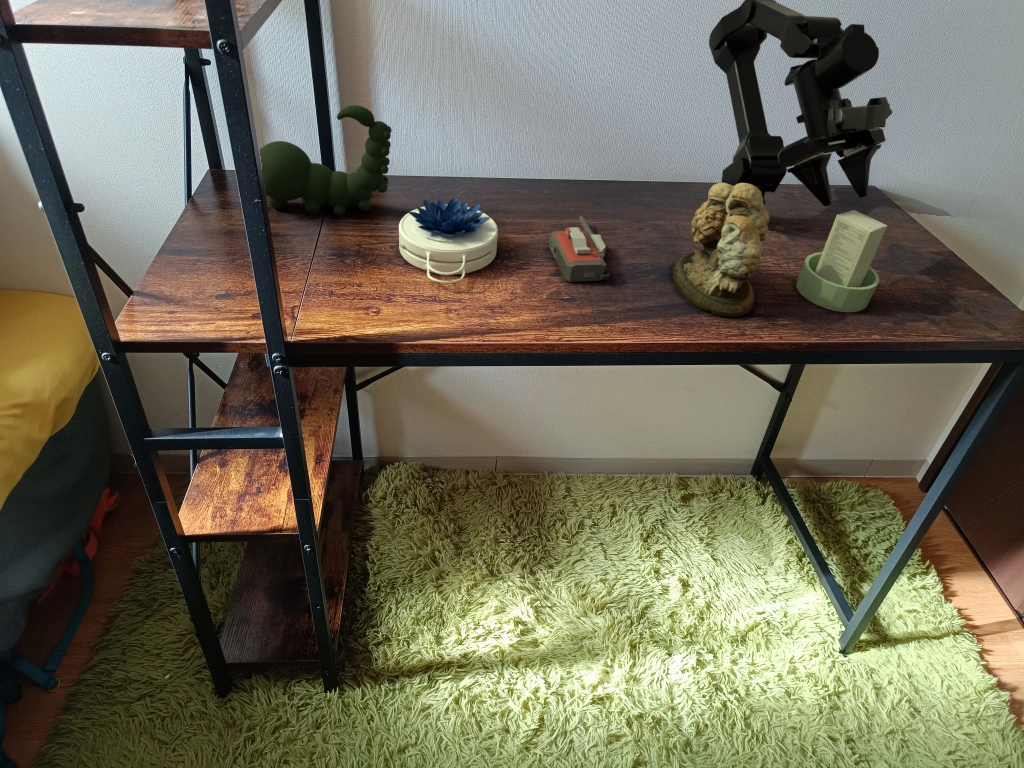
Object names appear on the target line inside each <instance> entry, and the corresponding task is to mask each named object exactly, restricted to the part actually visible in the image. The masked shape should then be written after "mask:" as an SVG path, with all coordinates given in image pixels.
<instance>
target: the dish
mask: <svg viewBox="0 0 1024 768" xmlns="http://www.w3.org/2000/svg"><path fill="white" fill-rule="evenodd" d="M822 253H823V251H820V252H814V253H812V254H809V255H808V256H807V257H806V258H805V259H804V260H803V261H804V262H803V264H802V267H801V269H800V271H799V274H798V277H797V279H796V283H795V285H796V289H797V291H798V292H799V294H800V295H801V296H802V297H803V298H804V299H806V300H807V301H809V302H810V303H812V304H814V305H816V306H819V307H821V308H824V309H826V310H830V311H834V312H840V313H856V312H860V311H863V310H865V309H866V308H867V307H868V306H869V304H870V302H871V300H872V298H873V295H874V293H875V292H876V289H877V288H878V285H879V284H880V276H879V274H878V273H877V271H876V270H875V269H874V268H873V267H872V266H870V267H869V269H868V271H867V274H866V276H865V278H864V280H863V283H862V285H861V287H860V288H858V287H847V286H843V285H838V284H835V283H833V282H830V281H827V280H826V279H824V278H822V277H820V276H818V275H817V274H816V273H815V271H816V268H817V266H818V263H819V260H820V258H821V255H822Z"/></svg>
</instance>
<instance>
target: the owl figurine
mask: <svg viewBox="0 0 1024 768" xmlns="http://www.w3.org/2000/svg"><path fill="white" fill-rule="evenodd" d="M707 192H708V195H707V201H704V202H702V204H701V205H700V207H699V208H698V209H697V210H696V211H695V212H694V216H693V219H692V220H691V223H690V225H691V237H692V239H693V242H695V243H696V244H701V245H702V246H703V249H695V250H694V251H692V252H689V253H687V254H685V255H683V256H682V257H681V256H680V258H677V260H676V261H675V263H674V265H673V268H672V280H673V283H674V285H675V287H676V288H677V290H678V291H679V293H680V294H681V295H682V296H683V297H684V299H686V300H687V301H688V302H689V303H691V304H692V305H693V306H695V307H696V308H697V309H700V310H702V311H704V312H710V313H711V314H712V315H714V316H718V317H724V318H725V317H728V318H739V317H742V316H744V315H747V314H748V313H750V312H751V310H752V309H753V306H754V303H755V292H754V291H755V290H754V289H753V286H752V284H751V283H750V281H749V279H751V278H752V277H753V275H754V273H755V272H757V269H758V268H759V265H760V261H761V257H762V254H763V250H764V249H763V247H764V245H763V242H765V241H766V239H767V233H768V231H769V226H768V224H769V222H770V214H769V211H768V210H767V209H766V207H765V206H764V203H763V197H762V193H761V191H760V190H759V189H758V188H757V187H755V186H754V185H752V184H748V183H739V184H736V185H735V186H732V185H729V184H727V183H722V182H717V183H715V184H713V185H712V186H711V187H710V188H709V189H708V191H707Z"/></svg>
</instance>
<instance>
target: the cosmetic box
mask: <svg viewBox="0 0 1024 768" xmlns="http://www.w3.org/2000/svg"><path fill="white" fill-rule="evenodd" d="M887 227H888V225H887V224H885V223H883V222H880V221H878V220H876V219H874V218H872V217H870V216H868V215H866V214H864V213H862V212H859V211H857V210H855V209H851V210H848V211H845V212H842V213H837V214H836V215H835V219H834V221H833V223H832V227H831V230H830V232H829V234H828V237H827V240H826V242H825V244H824V248H823V250H822V252H823V253H822V255H821V258H820V260H819V263H818V266H817V268H816V271H815V273H816V274H817V275H818V276H820V277H822V278H824V279H826V280H827V281H830V282H833V283H835V284H838V285H843V286H847V287H858V288H860V287H861V285H862V283H863V280H864V278H865V276H866V274H867V271H868V269H869V267H871V265H872V263H873V260H874V257H875V255H876V253H877V251H878V249H879V246H880V244H881V242H882V239H883V237H884V234H885V232H886V230H887Z"/></svg>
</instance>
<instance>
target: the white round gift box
mask: <svg viewBox="0 0 1024 768" xmlns="http://www.w3.org/2000/svg"><path fill="white" fill-rule="evenodd" d="M422 202H423V206H421V207H420V206H416V208H415V209H413V210H411V211H408V212H407V213H406V214H404V216H403V217H402V218H401V219H400V221H399V224H398V243H399V244H398V247H399V248H398V249H399V253H400V254H401V256H402V258H403V259H404V260H405V261H406V262H408V263H409V264H410V265H412V266H413V267H415V268H417V269H419V270H423V271H425V272H426V276H427V278H428V279H429V280H430V281H432V282H435V283H440V284H454V283H455V284H456V283H459V282H462V280H463V279H464V278H465V277H466V276H465V275H466V274H470V273H473V272H477V271H479V270H482V269H483V268H485V267H487V266H488V265H490V264H491V263H492V262H493V261H494V260H495V257H496V255H497V251H498V250H497V248H498V237H499V236H498V235H499V228H498V225H497V223H496V222H495V221H494V219H493V218H491V217H490V216H489V215H487V214H486V213H484V211H481V210H479V209H480V206H481V204H479V203H478V204H475V205H473V206H471V207H470V206H469V204H468V202H467V201H463V202H462V203H461V201H460V200H458V199H457V197H452V198H451V199H450V200H449V202H448V203H445V202H444V201H443V200H442V199H438V200H437V203H436V202H434V201H431V202H430V201H429V200H427V199H423V200H422ZM430 273H433V274H437V275H441V276H452V275H461V277H460V278H457V279H453V280H452V279H451V280H441V279H437V278H434V277H432V276H431V274H430Z"/></svg>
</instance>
